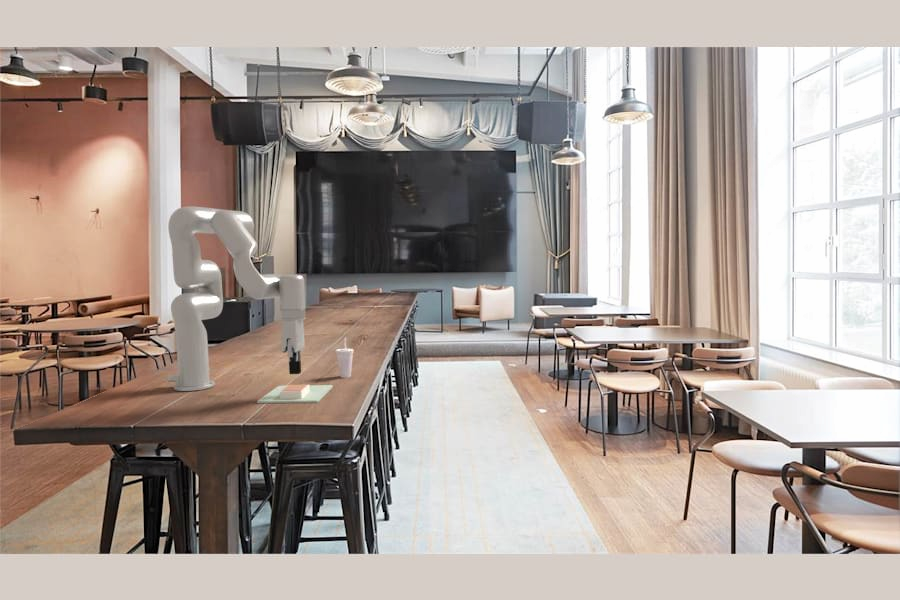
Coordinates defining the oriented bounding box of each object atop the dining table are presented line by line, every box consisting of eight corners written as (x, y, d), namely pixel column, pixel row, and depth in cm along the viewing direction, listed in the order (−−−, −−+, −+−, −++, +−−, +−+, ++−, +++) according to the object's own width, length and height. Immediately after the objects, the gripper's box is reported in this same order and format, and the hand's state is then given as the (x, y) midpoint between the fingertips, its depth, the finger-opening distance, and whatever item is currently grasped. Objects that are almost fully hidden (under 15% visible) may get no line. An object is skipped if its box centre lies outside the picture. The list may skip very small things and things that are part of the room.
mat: (257, 403, 172) (257, 401, 172) (278, 387, 192) (278, 385, 192) (317, 402, 172) (317, 400, 172) (332, 386, 192) (332, 385, 192)
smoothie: (342, 379, 203) (340, 339, 202) (333, 376, 208) (331, 337, 207) (357, 376, 207) (356, 337, 206) (348, 373, 212) (347, 335, 211)
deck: (289, 391, 183) (280, 398, 174) (289, 384, 183) (280, 391, 174) (309, 391, 183) (301, 398, 174) (309, 384, 183) (301, 390, 174)
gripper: (288, 312, 187) (290, 368, 188) (272, 317, 172) (275, 378, 173) (311, 312, 186) (313, 368, 188) (298, 317, 171) (300, 378, 173)
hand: (295, 373), depth 180 cm, fingers closed
